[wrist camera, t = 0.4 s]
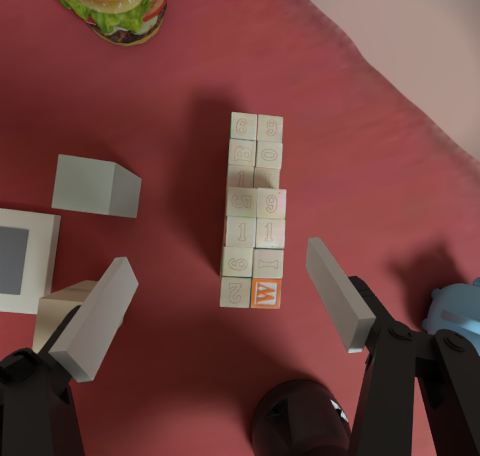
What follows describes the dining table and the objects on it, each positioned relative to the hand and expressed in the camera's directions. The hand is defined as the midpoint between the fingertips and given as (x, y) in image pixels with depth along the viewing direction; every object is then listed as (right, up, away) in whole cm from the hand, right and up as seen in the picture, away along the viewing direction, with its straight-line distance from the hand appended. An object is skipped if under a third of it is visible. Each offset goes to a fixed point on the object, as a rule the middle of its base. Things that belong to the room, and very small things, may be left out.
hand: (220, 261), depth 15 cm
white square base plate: (-33, -2, +14) cm, 36 cm away
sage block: (-17, +7, +16) cm, 24 cm away
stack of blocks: (+2, +5, +18) cm, 19 cm away
